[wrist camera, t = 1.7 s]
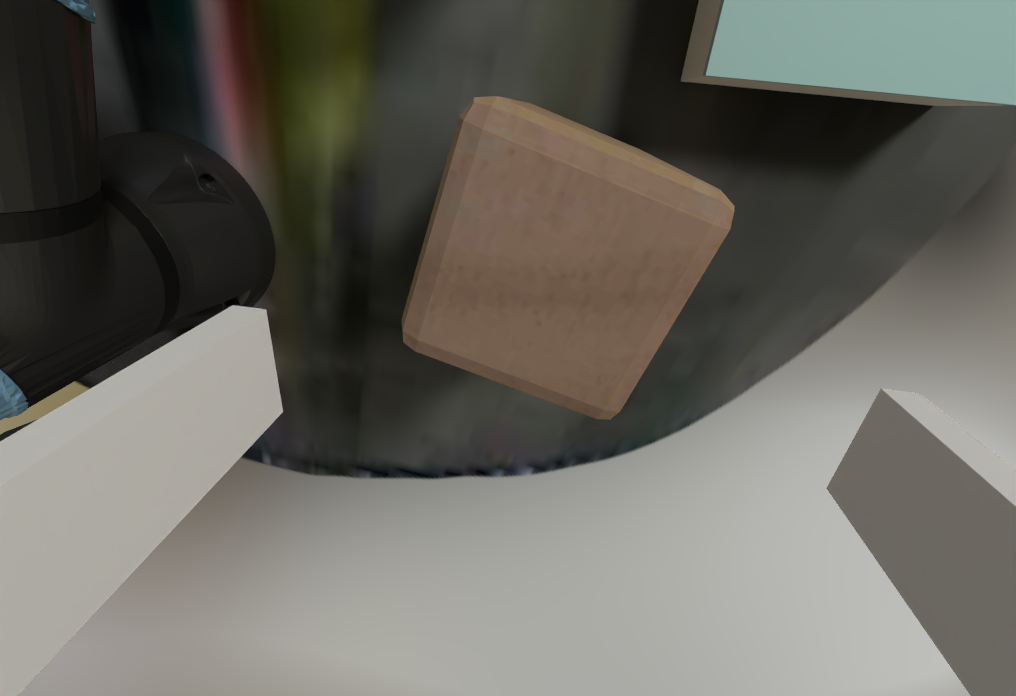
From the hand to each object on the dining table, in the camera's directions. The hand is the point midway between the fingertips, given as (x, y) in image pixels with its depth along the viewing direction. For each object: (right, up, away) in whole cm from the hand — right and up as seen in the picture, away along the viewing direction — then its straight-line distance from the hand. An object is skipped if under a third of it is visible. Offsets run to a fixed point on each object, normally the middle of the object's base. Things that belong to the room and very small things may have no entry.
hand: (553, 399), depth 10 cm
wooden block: (+3, +13, +24) cm, 27 cm away
